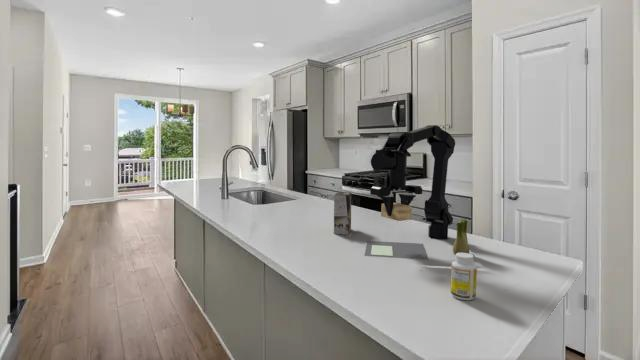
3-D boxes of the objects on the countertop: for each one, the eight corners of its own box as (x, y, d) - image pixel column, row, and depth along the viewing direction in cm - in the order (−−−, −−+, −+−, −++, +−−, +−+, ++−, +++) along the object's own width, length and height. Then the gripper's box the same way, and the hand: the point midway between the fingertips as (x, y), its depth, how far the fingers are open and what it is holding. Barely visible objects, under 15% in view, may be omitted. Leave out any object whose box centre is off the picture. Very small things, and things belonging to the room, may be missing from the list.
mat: (422, 245, 128) (422, 243, 127) (428, 261, 110) (428, 258, 110) (367, 242, 131) (367, 240, 131) (364, 257, 114) (364, 255, 113)
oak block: (411, 219, 118) (411, 206, 118) (398, 221, 116) (399, 207, 115) (393, 215, 126) (393, 202, 126) (381, 216, 123) (381, 203, 123)
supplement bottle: (466, 290, 88) (468, 250, 87) (480, 300, 82) (482, 257, 81) (446, 292, 87) (447, 252, 86) (458, 302, 81) (460, 259, 80)
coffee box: (349, 234, 143) (349, 195, 141) (333, 233, 144) (333, 194, 142) (351, 229, 152) (351, 192, 150) (336, 228, 153) (337, 191, 151)
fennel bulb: (457, 258, 113) (459, 221, 111) (448, 254, 117) (449, 218, 116) (473, 257, 114) (474, 220, 113) (463, 252, 119) (464, 217, 118)
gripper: (401, 168, 131) (400, 209, 132) (361, 168, 122) (359, 213, 123) (424, 170, 121) (422, 214, 123) (382, 170, 112) (380, 219, 113)
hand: (395, 215), depth 121 cm, fingers closed on oak block, 5 cm apart
